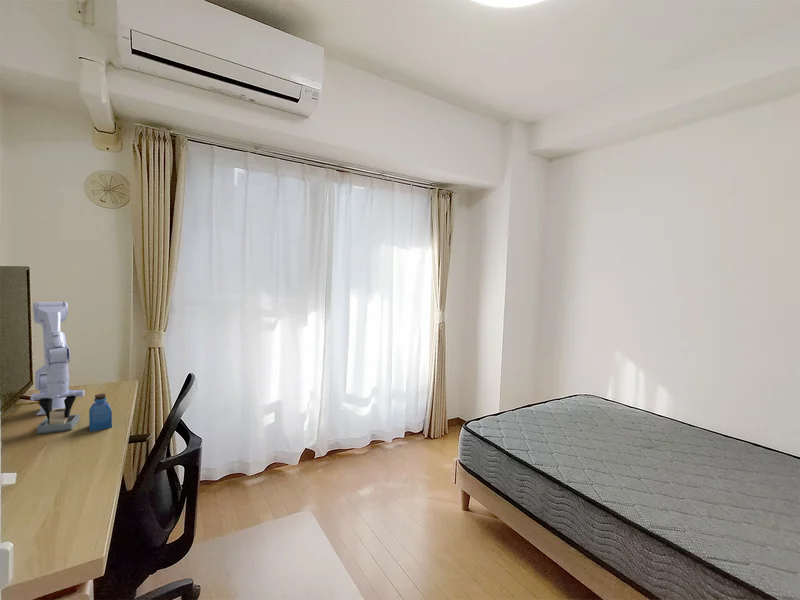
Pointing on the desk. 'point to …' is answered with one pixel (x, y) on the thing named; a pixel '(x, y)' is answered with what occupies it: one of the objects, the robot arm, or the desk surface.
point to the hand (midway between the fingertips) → (58, 417)
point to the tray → (57, 425)
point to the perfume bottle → (100, 414)
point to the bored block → (58, 416)
